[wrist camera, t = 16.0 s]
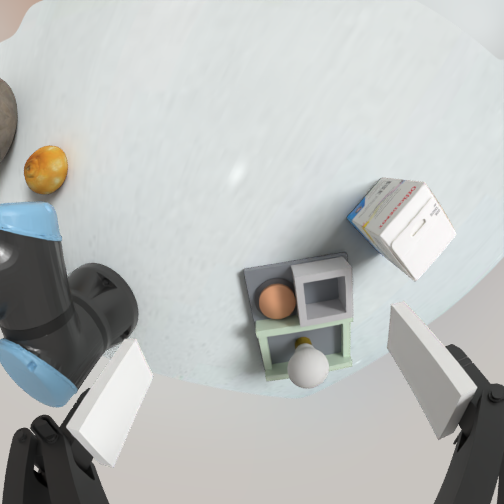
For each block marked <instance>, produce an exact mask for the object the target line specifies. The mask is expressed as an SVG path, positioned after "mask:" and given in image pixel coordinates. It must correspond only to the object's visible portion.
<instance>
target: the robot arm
mask: <svg viewBox="0 0 504 504" xmlns="http://www.w3.org/2000/svg"><path fill="white" fill-rule="evenodd" d="M61 241H62V236H61V235H60V232H59V226H58V220H57V214H56V211H55V209H54V207H53V206H52V205H51V204H49V203H47V202H18V203H4V204H0V328H1V330H2V333H3V335H4V338H3V339H1V340H0V362H1V364H2V366H3V367H4V369H5V370H6V372H7V373H8V374H9V376H10V377H11V378H12V379H13V380H14V381H15V383H17V385H18V386H20V387H21V388H22V389H23V390H24V391H25V392H26V393H28V394H29V395H30V396H31V397H33V398H34V399H36V400H38V401H39V402H41V403H43V404H45V405H48V406H51V407H62V406H64V405H65V404H66V403H67V402H68V401H69V400H70V398H71V397H72V396H73V395H74V394H76V393H77V391H78V389H79V388H80V386H81V385H82V383H83V382H84V380H85V379H86V377H87V376H88V374H89V373H90V372H91V370H92V369H93V367H94V366H95V364H96V363H97V361H98V360H99V359H100V357H101V356H102V354H103V353H104V352H105V351H106V350H108V349H110V348H111V347H113V346H115V345H117V344H119V343H121V342H122V344H121V345H120V346H119V348H118V349H117V351H116V352H115V353H114V355H113V356H112V358H111V359H110V361H109V362H108V363H107V365H106V366H105V368H104V369H103V371H102V372H101V374H100V375H99V377H98V378H97V380H96V381H95V383H94V384H93V386H92V387H91V388H88V389H87V390H86V391H84V392H83V393H82V394H81V395H80V397H79V398H78V400H77V403H75V404H74V406H73V408H72V409H71V410H70V412H69V413H68V415H67V417H66V418H65V420H64V421H63V423H62V424H61V426H60V427H58V425H57V424H56V423H55V421H54V420H53V419H52V418H51V417H50V416H49V415H41V416H39V417H37V418H36V419H35V420H34V421H33V422H32V424H31V428H30V429H31V430H32V431H33V432H34V434H35V435H34V434H33V433H32V432H31V431H30V430H29V429H28V428H21V429H19V430H17V431H16V433H15V434H14V436H13V439H12V444H11V448H10V453H9V458H8V463H7V468H6V475H5V482H4V491H3V500H2V504H109V502H108V500H107V497H106V495H105V492H104V490H103V487H102V485H101V482H100V480H99V477H98V474H97V471H96V468H95V466H94V464H93V463H92V462H91V461H92V459H93V457H94V458H95V459H96V460H97V461H98V462H99V463H100V464H102V465H105V466H109V467H113V468H114V466H115V463H116V461H117V458H118V456H119V454H120V451H121V449H122V446H123V444H124V442H125V440H126V437H127V434H128V433H129V430H130V428H131V426H132V424H133V421H134V419H135V417H136V415H137V412H138V410H139V408H140V406H141V403H142V401H143V399H144V397H145V395H146V393H147V390H148V388H149V386H150V384H151V382H152V380H153V377H154V376H153V374H152V372H151V370H150V368H149V366H148V364H147V362H146V359H145V357H144V355H143V353H142V351H141V348H140V346H139V344H138V342H137V339H127V338H128V337H129V336H130V334H131V333H132V332H133V330H134V329H135V327H136V325H137V321H138V307H137V302H136V299H135V297H134V295H133V292H132V291H131V289H130V287H129V286H128V284H127V283H126V282H125V281H124V279H123V278H122V277H121V276H120V275H119V274H117V273H116V272H115V271H113V270H112V269H110V268H109V267H107V266H104V265H101V264H97V263H88V264H84V265H82V266H80V267H79V268H77V269H76V270H74V271H73V272H72V273H71V274H70V275H69V277H67V273H66V268H65V262H64V257H63V251H62V244H61ZM387 349H388V350H389V352H390V353H391V355H392V357H393V358H394V360H395V362H396V364H397V365H398V367H399V369H400V370H401V372H402V374H403V375H404V377H405V379H406V381H407V382H408V384H409V386H410V388H411V389H412V391H413V393H414V395H415V397H416V398H417V400H418V402H419V404H420V405H421V408H422V409H423V411H424V413H425V415H426V417H427V419H428V421H429V423H430V424H431V426H432V428H433V431H434V433H435V434H436V436H437V438H438V440H439V439H441V438H443V437H445V436H448V435H450V434H452V433H453V432H454V431H455V429H456V427H457V426H458V424H459V426H460V428H461V429H462V430H461V432H460V433H459V435H458V436H457V438H456V439H455V441H454V443H453V444H456V443H457V444H456V448H455V451H454V454H453V457H452V460H451V463H450V466H449V469H448V472H447V474H446V477H445V479H444V482H443V484H442V486H441V489H440V491H439V493H438V496H437V498H436V500H435V502H434V504H490V503H491V500H492V496H493V494H494V490H495V487H496V483H497V479H498V476H499V485H498V498H497V504H504V386H503V385H500V384H490V383H489V382H488V380H487V379H486V378H485V376H484V375H483V374H482V373H481V372H480V370H479V369H478V368H477V367H476V366H475V365H474V363H472V361H471V360H470V359H469V358H467V355H466V354H465V353H464V352H463V351H462V350H461V349H460V348H458V347H457V346H455V345H453V344H451V345H448V346H444V345H443V344H442V343H441V342H440V340H439V339H438V338H437V337H436V336H435V335H434V334H433V332H432V331H431V330H430V329H429V328H428V327H427V326H426V324H425V323H424V322H423V321H422V320H421V319H420V318H419V317H418V316H417V315H416V313H415V312H414V311H413V310H412V309H411V308H410V307H409V306H408V305H407V304H406V303H405V302H404V301H403V302H398V303H394V304H391V312H390V324H389V335H388V344H387ZM34 465H35V466H37V467H38V468H39V471H38V472H36V471H35V470H34Z"/></svg>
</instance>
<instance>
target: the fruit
mask: <svg viewBox="0 0 504 504" xmlns="http://www.w3.org/2000/svg"><path fill="white" fill-rule="evenodd" d="M67 170H68V164H67V158H66V155H65V153H64V152H63V151H62V150H61V149H60V148H59V147H56V146H44V147H42V148H40V149H38V150H37V151H35V152H34V153H33V154H32V155H31V156H30V157H29V159H28V160H27V162H26V164H25V166H24V176H25V180H26V183H27V185H28V186H29V188H30V189H31V190H32V191H34V192H36V193H39V194H49V193H52V192H54V191H56V190H57V189H58V188H59V187H60V186H61V185H62V184H63V182H64V180H65V178H66V175H67Z"/></svg>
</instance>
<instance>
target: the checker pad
mask: <svg viewBox="0 0 504 504" xmlns="http://www.w3.org/2000/svg"><path fill="white" fill-rule="evenodd" d="M295 305H296V300H295V296H294V293H293V291H292V290H291V289H290V288H289V287H288V286H286V285H283V284H272V285H269V286H267V287H266V288H265V289H264V290H263V291H262V292H261V294H260V297H259V307H260V310H261V311H262V313H263V314H264V315H265V316H267V317H269V318H271V319H282V318H285V317H287V316H289V315H290V314H291V313H292V312H293V310H294V308H295Z"/></svg>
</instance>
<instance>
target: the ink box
mask: <svg viewBox="0 0 504 504" xmlns="http://www.w3.org/2000/svg"><path fill="white" fill-rule="evenodd" d="M347 220H349V221H350V222H351V223H352V225H353V226H354V227H355V228H356V229H357V230H358V231H359V232H360V233H361V234H362V235H363V236H364V237H365V239H366V240H367V241H368V242H369V243H370V244H371V245H372V246H373V247H374V248H375V249H376V250H377V251H378V252H379V253H380V254H382V255H383V256H384V257H385V258H387V259H388V260H389V261H390V262H392V263H393V264H394V265H395V266H396V267H398V268H399V269H400V270H401V271H403V272H404V273H405V274H406V275H408V276H409V277H410V278H411V279H412V280H414V281H415V282H416V281H417V280H418V279H419V278H420V276H421V275H422V274H423V273H424V272H425V271H426V270H427V269H428V268H429V267H430V265H431V264H432V263H433V262H434V261H435V260H436V259H437V258H438V256H439V255H440V254H441V253H442V252H443V251H444V249H445V248H446V247H447V246H448V245H449V243H450V242H451V241H452V240H453V238H454V237H455V236H456V231H455V229H454V228H453V226H452V224H451V222H450V220H449V218H448V217H447V215H446V213H445V212H444V210H443V208H442V207H441V205H440V203H439V202H438V200H437V199H436V197H435V196H434V194H433V193H432V191H431V190H430V189H429V187H428V186H427V184H426V183H425V182H419V181H410V180H401V179H392V178H381V179H380V180H379V181H378V182H377V184H376V185H375V186H374V187H373V188H372V189H371V190H370V192H369V193H368V194H367V195H366V196H365V197H364V199H363V200H362V201H361V202H360V203H359V204H358V206H357V207H356V208H355V209H354V210H353V211H352V212H351V213H350V214H349V215H348V216H347Z"/></svg>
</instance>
